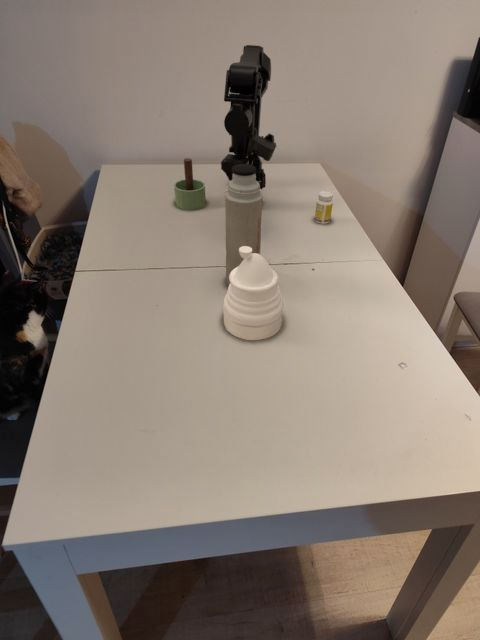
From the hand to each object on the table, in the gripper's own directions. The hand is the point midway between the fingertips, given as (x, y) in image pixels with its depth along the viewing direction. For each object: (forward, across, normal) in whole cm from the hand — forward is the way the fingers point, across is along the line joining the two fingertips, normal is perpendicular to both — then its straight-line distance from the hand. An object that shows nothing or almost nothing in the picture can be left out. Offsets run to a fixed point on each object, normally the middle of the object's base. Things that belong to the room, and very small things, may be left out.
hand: (241, 186), depth 120 cm
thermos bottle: (+13, -26, -7) cm, 30 cm away
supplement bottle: (+13, +14, -22) cm, 29 cm away
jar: (+13, +13, +20) cm, 27 cm away
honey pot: (+13, -40, -13) cm, 44 cm away
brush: (+12, +13, +20) cm, 27 cm away
